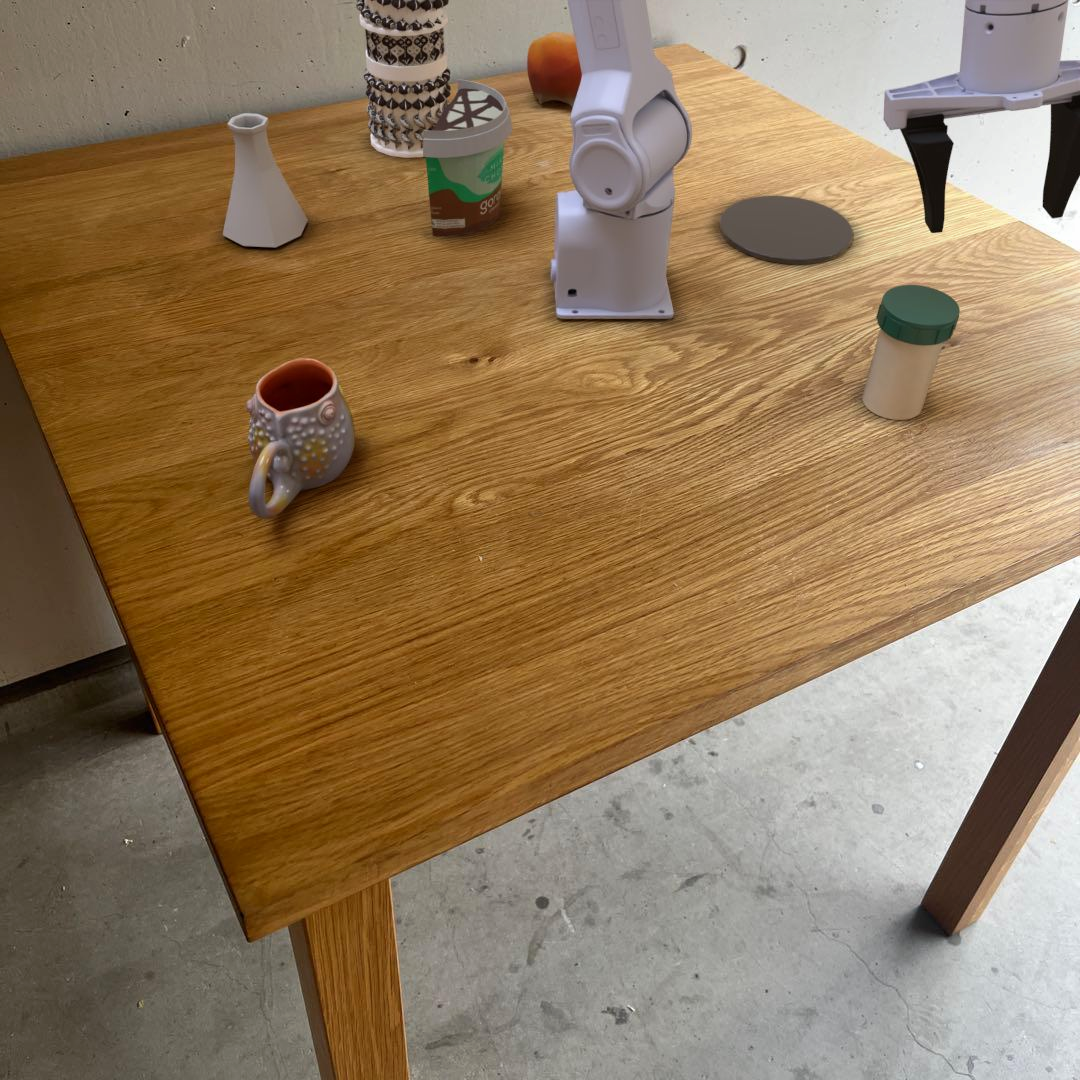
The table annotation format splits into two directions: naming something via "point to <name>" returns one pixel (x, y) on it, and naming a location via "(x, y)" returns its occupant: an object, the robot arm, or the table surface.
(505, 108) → the food container
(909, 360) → the jar
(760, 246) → the coaster
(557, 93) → the fruit
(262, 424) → the mug
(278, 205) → the flask
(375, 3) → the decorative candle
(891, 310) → the lid
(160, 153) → the table surface
